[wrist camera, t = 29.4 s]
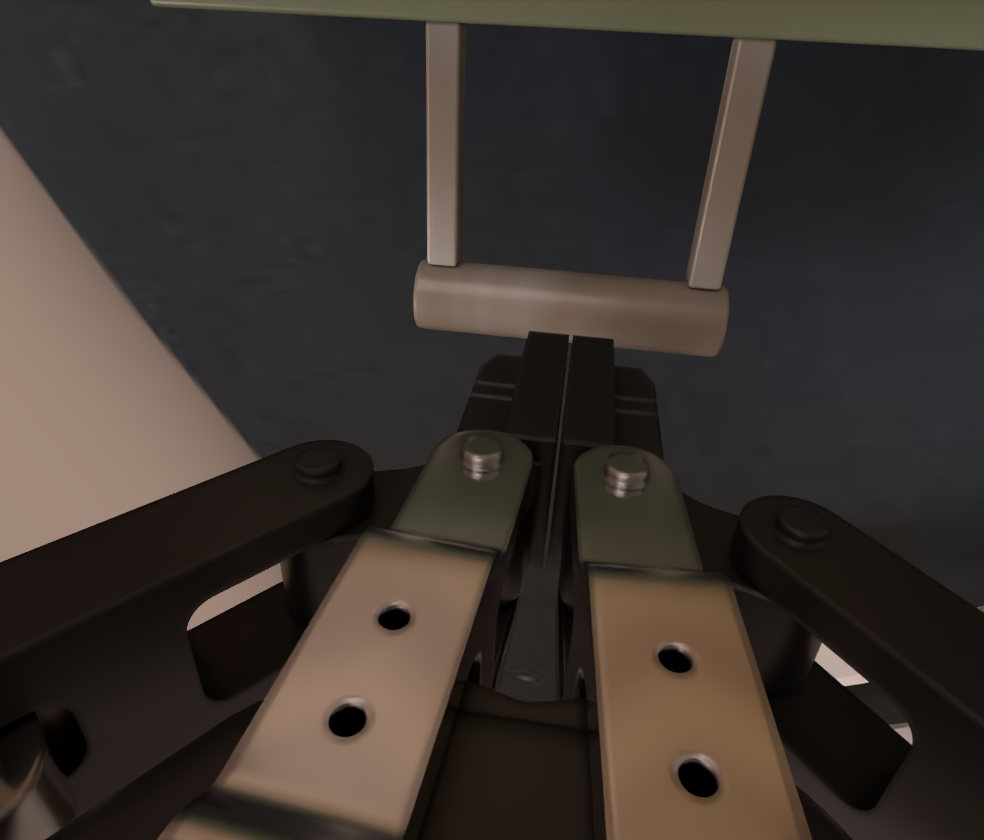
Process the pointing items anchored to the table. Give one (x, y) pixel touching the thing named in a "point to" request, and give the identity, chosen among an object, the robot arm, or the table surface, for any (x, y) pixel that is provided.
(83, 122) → the table surface
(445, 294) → the drawer
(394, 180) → the table surface
